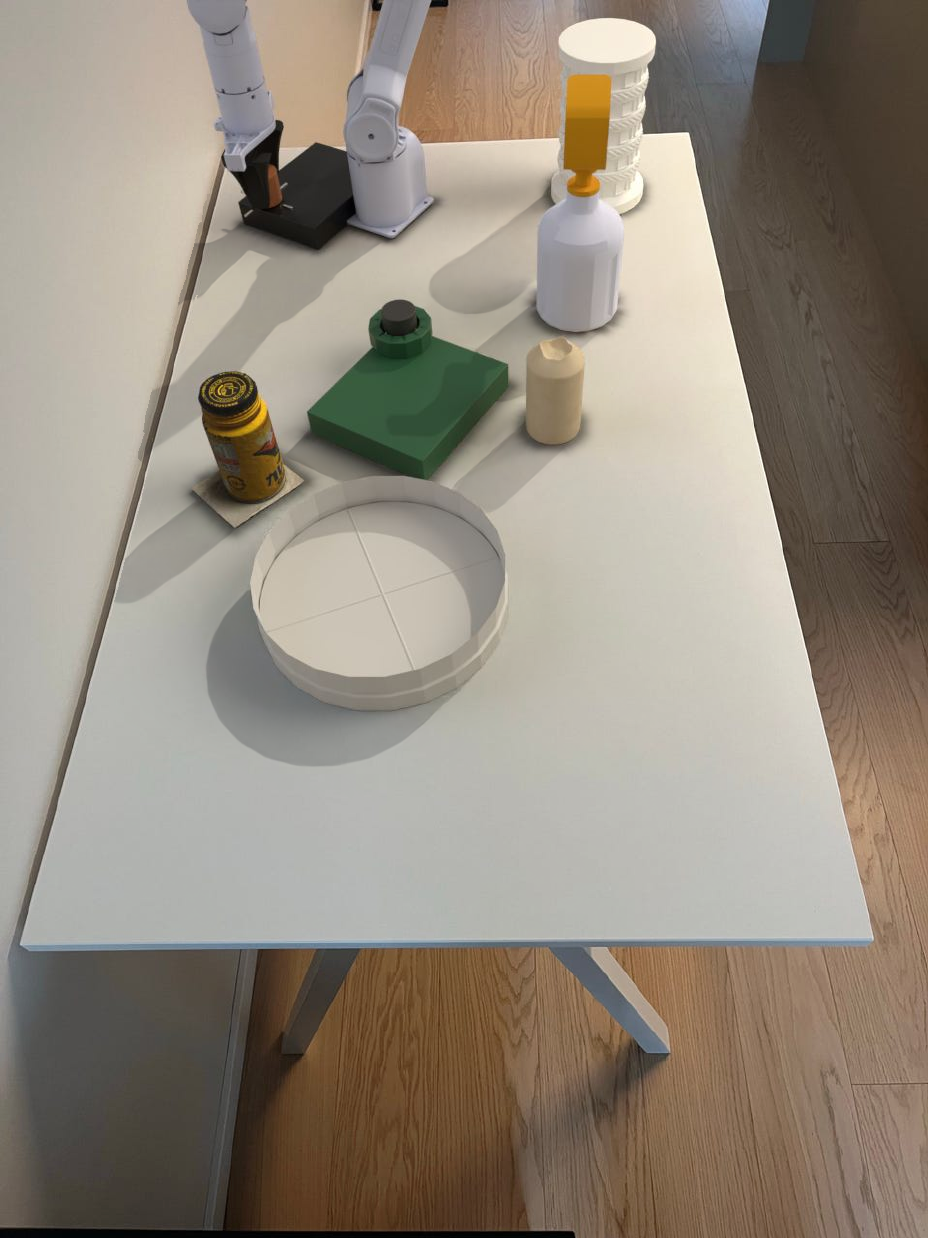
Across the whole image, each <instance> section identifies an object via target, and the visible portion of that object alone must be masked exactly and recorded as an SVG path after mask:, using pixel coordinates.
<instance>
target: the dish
mask: <svg viewBox="0 0 928 1238" xmlns="http://www.w3.org/2000/svg"><path fill="white" fill-rule="evenodd" d="M250 576H251V577H250V582H249V584H250V585H249V586H250V593H251V600H252V609H253V611H254V613H255V616H256V618H257V625H258V631H259V632H260V635H261V638H262V640H263V643H264V645H265V647H266V649H267V651H268V652H269V655H270V657H271V659H272V661H273V664H274V665H275V667H276V668H277V669H278V671H279V672H281V673H282V674H283V676H285V677H286V678H287V680H289V681H290V683H292V684H293V685H294V686H295V687H296V688H297V689H299V690H300V691H302V692H304V693H306V694H308V695H309V696H311V697H313V698H315V699H317V700H319V701H320V702H322V703H325V704H329V705H333V706H337V707H341V708H345V709H349V710H352V711H353V710H354V711H372V712H373V711H375V712H376V711H377V712H378V711H379V712H380V711H383V712H385V711H387V712H390V711H392V712H393V711H396V710H400V709H405V708H410V707H413V706H414V707H415V706H418V705H423V704H426V703H427V704H428V702H431V701H433V700H435V699H437V698H439V697H441V696H444V694H448V693H450V692H452V691H453V690H456V689H457V688H459V687H460V686H461V685H462V684H464V683H465V682H466V681H467V680H468V679H470V678H471V677H472V676H473V675H474V674H476V673H477V672H478V671H479V670H480V669H482V668H483V666H484V665H485V663H486V662H487V661H488V659H489V657H490V656H491V655H492V654H493V652H494V651H495V649H496V648H497V646H498V645H499V644H500V642H501V638H502V635H503V632H504V629H505V627H506V624H507V620H508V617H509V574H508V572H507V568H506V553H505V549H504V546H503V543H502V540H501V537H500V534H499V531H498V529H497V528H496V527H495V525H494V524H493V523H492V521H491V520H490V519H489V517H488V516H487V514H486V513H485V512H484V511H483V509H482V508H481V507H479V506H478V505H476V504H475V503H473V502H472V501H471V500H470V499H468V498H467V497H466V496H465V495H463V494H462V493H460V492H459V491H456V490H454V489H452V488H450V487H447V486H445V485H442V484H440V483H438V482H435V481H433V480H429V479H428V480H423V479H418V478H413V477H410V476H408V475H372V476H366V477H362V478H356V479H352V480H346V481H342V482H339V483H336V484H334V485H332V486H330V487H327V488H325V489H322V490H321V491H318V492H314V493H313V494H311V495H310V496H308V497H307V498H305V499H303V501H301V502H299V503H298V504H297V505H295V506H294V507H292V508H291V509H289V510H287V512H286V513H285V514H284V515H283V516H282V517H281V518H280V519H279V520H278V521H277V522H276V524H274V526H273V527H272V528H271V529H270V530H269V531H268V532H267V534H266V536H265V538H264V540H263V542H262V543H261V545H260V547H259V549H258V551H257V553H256V555H255V556H254V562H253V566H252V572H251V575H250Z"/></svg>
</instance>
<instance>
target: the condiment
mask: <svg viewBox="0 0 928 1238" xmlns="http://www.w3.org/2000/svg"><path fill="white" fill-rule="evenodd" d="M197 400H198V403H199V405H200V409H201V414H202V415H201V424H202V427H203V430H204V432H205V435H206V437H207V439H208V440H207V441H208V443H209V446H210V448H211V451H212V454H213V457H214V460H215V463H216V465H217V468H218V470H217V471H216V472H215V473H213V474H211V475H210V476H209V477H207V478H205V479H202V480H201V481H199V482H198V483H196V484H195V485H193V486H192V487H191V490H192V491H194V492H195V493H196V494H197V495H198V496H199V497H200V498H201V499H202V500H203V501H204V502H205V503H206V504H207V505H208V506H209V507H211V508H212V510H214V511H215V512H216V513H217V514H218V515H220V517H222V519H224V520H225V522H228V524H230V525H231V527H233V528H234V529H235V528H237V527H238V526H240V525H241V524H242V523H244V522H247V521H248V520H249V519H250V518H251V517H254V516H255V515H257V513H259V512H260V511H262V510H264V509H265V508H268V506H270V505H272V504H273V503H275V502H277V501H278V500H280V499H281V498H282V497H284V496H285V495H287V494H288V493H290V492H292V490H294V489H296V488H297V487H298V486H300V485H301V484H302V483H303V482H304V481H305V480H304V479H303V478H302V477H300V476H299V475H298V474H297V473H296V472H294V471H293V470H292V469H290V468H289V467H288V466H287V465H286V464H284V461H283V458H282V453H281V451H280V447H279V444H278V442H277V438H276V434H275V431H274V428H273V423H272V420H271V416H270V413H269V410H268V406H267V403H266V402H265V401H264V399H263V398H262V397H261V395H260V393H259V390H258V385H257V383H256V381H255V380H254V379H253V378H252V377H251V376H249V374H247V373H245V372H241V371H237V370H234V371H233V370H231V371H230V370H229V371H222V372H219V373H216V374H213V375H211V376H209V377H208V378H206V379H205V380H204V381H203V382H202V383H201V385H200V386H199V390H198V397H197Z"/></svg>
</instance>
